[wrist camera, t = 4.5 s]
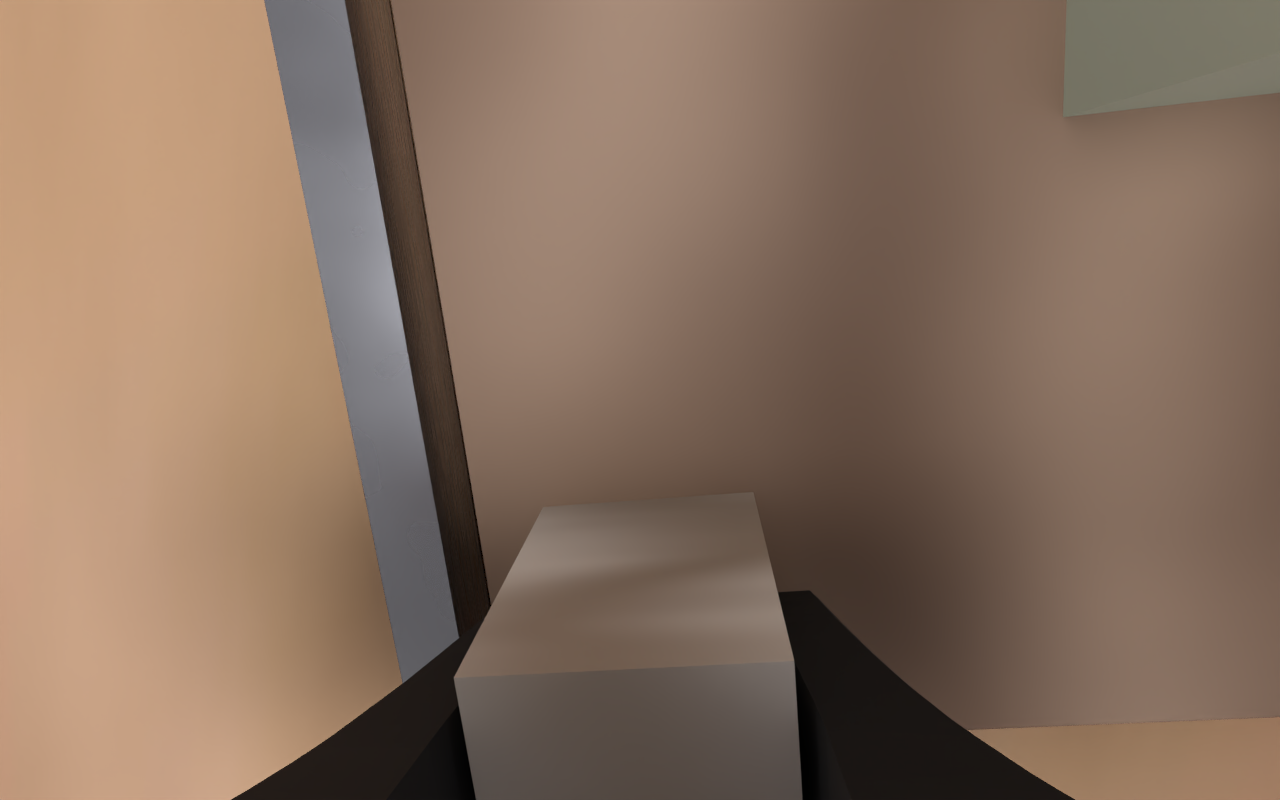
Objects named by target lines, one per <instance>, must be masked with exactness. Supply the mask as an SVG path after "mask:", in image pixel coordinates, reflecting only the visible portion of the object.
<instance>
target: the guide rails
mask: <svg viewBox="0 0 1280 800" xmlns="http://www.w3.org/2000/svg"><path fill="white" fill-rule="evenodd" d="M264 1H265V6H266V11H267V16H268V21H269V26H270V30H271V35H272V40H273V45H274V50H275V55H276V60H277V65H278V70H279V75H280V80H281V85H282V90H283V95H284V100H285V105H286V109H287V114H288V119H289V124H290V129H291V134H292V139H293V144H294V149H295V154H296V159H297V164H298V169H299V174H300V179H301V184H302V188H303V193H304V198H305V203H306V208H307V213H308V218H309V223H310V228H311V233H312V238H313V243H314V248H315V253H316V258H317V263H318V267H319V272H320V277H321V282H322V287H323V292H324V297H325V302H326V307H327V312H328V317H329V322H330V327H331V332H332V337H333V342H334V346H335V351H336V356H337V361H338V366H339V371H340V376H341V381H342V386H343V391H344V396H345V401H346V406H347V411H348V416H349V421H350V425H351V430H352V435H353V440H354V445H355V450H356V455H357V460H358V465H359V470H360V475H361V480H362V485H363V490H364V495H365V500H366V504H367V509H368V514H369V519H370V524H371V529H372V534H373V539H374V544H375V549H376V554H377V559H378V564H379V569H380V574H381V579H382V583H383V588H384V593H385V598H386V603H387V608H388V613H389V618H390V623H391V628H392V633H393V638H394V643H395V648H396V653H397V658H398V662H399V667H400V672H401V677H402V682H403V683H404V682H405V681H406V680H408V679H409V678H410V677H411V676H413V675H414V674H415V673H416V672H418V671H419V670H420V669H421V668H423V667H424V666H425V665H426V664H428V663H429V662H430V661H431V660H433V659H434V658H435V657H436V656H438V655H439V654H440V653H441V652H442V651H444V650H445V649H446V648H447V647H449V646H450V645H451V644H452V643H453V642H455V641H456V640H457V639H458V638H460V637H461V636H462V635H463V634H464V633H466V632H467V631H468V630H469V629H471V628H472V627H473V626H474V625H476V624H477V623H478V622H479V621H481V620H482V619H483V618H485V617H486V615H487V613H488V612H489V610H490V605H489V599H488V593H487V587H486V581H485V575H484V569H483V563H482V557H481V551H480V545H479V539H478V533H477V527H476V521H475V515H474V509H473V503H472V497H471V491H470V485H469V479H468V473H467V467H466V461H465V455H464V449H463V443H462V437H461V431H460V425H459V419H458V413H457V407H456V401H455V395H454V389H453V383H452V377H451V371H450V365H449V359H448V353H447V347H446V341H445V335H444V329H443V322H442V316H441V310H440V304H439V298H438V292H437V286H436V280H435V274H434V268H433V262H432V256H431V250H430V244H429V238H428V232H427V226H426V220H425V214H424V208H423V202H422V196H421V190H420V184H419V178H418V172H417V166H416V160H415V154H414V148H413V142H412V136H411V130H410V124H409V118H408V112H407V106H406V100H405V94H404V88H403V82H402V76H401V70H400V64H399V58H398V52H397V46H396V40H395V34H394V27H393V21H392V15H391V9H390V3H389V0H264Z"/></svg>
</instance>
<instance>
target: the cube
mask: <svg viewBox="0 0 1280 800" xmlns="http://www.w3.org/2000/svg"><path fill="white" fill-rule="evenodd" d="M1272 93H1280V0H1067V7H1066V38H1065V69H1064V100H1063V117H1069V116H1078V115H1087V114H1096V113H1104V112H1113V111H1122V110H1131V109H1140V108H1148V107H1157V106H1166V105H1175V104H1184V103H1192V102H1201V101H1210V100H1219V99H1228V98H1236V97H1245V96H1254V95H1263V94H1272Z"/></svg>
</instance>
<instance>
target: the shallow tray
mask: <svg viewBox="0 0 1280 800" xmlns="http://www.w3.org/2000/svg"><path fill="white" fill-rule="evenodd" d="M391 3H392V9H393V15H394V21H395V27H396V33H397V39H398V45H399V51H400V58H401V64H402V70H403V76H404V82H405V88H406V94H407V100H408V106H409V112H410V118H411V124H412V130H413V136H414V142H415V148H416V154H417V160H418V166H419V172H420V178H421V184H422V190H423V196H424V203H425V209H426V215H427V221H428V227H429V233H430V239H431V245H432V251H433V257H434V263H435V269H436V275H437V281H438V287H439V293H440V299H441V305H442V311H443V317H444V323H445V329H446V335H447V342H448V348H449V354H450V360H451V366H452V372H453V378H454V384H455V390H456V396H457V402H458V408H459V414H460V420H461V426H462V432H463V438H464V444H465V450H466V456H467V462H468V468H469V474H470V480H471V487H472V493H473V499H474V505H475V511H476V517H477V523H478V529H479V535H480V541H481V547H482V553H483V559H484V565H485V571H486V577H487V583H488V589H489V595H490V601H491V608H490V610H489V612H488V613H487V615H486V617H485V619H484V621H483V623H482V625H481V627H480V629H479V631H478V633H477V634H476V636H475V638H474V640H473V642H472V644H471V646H470V648H469V650H468V652H467V653H466V655H465V657H464V659H463V661H462V663H461V665H460V667H459V669H458V671H457V673H456V674H455V676H454V682H455V688H456V693H457V699H458V704H459V710H460V715H461V721H462V726H463V731H464V737H465V742H466V748H467V753H468V759H469V764H470V770H471V775H472V781H473V786H474V791H475V797H476V800H802V783H801V766H800V749H799V732H798V715H797V698H796V681H795V664H794V658H793V653H792V649H791V645H790V641H789V637H788V633H787V629H786V625H785V620H784V616H783V612H782V608H781V604H780V600H779V596H778V592H788V591H806V590H810V591H811V592H812V593H813V594H814V595H815V596H816V597H818V598H819V599H820V600H821V601H822V603H823V604H824V605H825V606H826V607H827V608H828V609H829V610H830V611H831V612H832V613H833V614H834V615H835V616H836V617H837V618H838V619H839V620H840V621H841V622H842V623H843V624H844V625H845V626H846V627H847V628H848V629H849V630H850V631H851V632H852V633H853V634H854V635H855V636H856V637H857V638H858V639H859V640H860V641H861V642H862V643H863V644H864V645H865V646H866V647H867V648H868V649H869V650H870V651H871V652H872V653H873V654H875V655H876V656H877V657H878V658H879V659H880V660H881V661H882V662H883V663H884V664H886V665H887V666H888V667H889V668H890V669H891V670H892V671H893V672H894V673H896V674H897V675H898V676H899V677H900V678H901V679H902V680H903V681H905V682H906V683H907V684H908V685H909V686H910V687H912V688H913V689H914V690H915V691H916V692H918V693H919V694H920V695H921V696H923V697H924V698H925V699H926V700H928V701H929V702H930V703H932V704H933V705H934V706H935V707H937V708H938V709H939V710H940V711H942V712H943V713H944V714H945V715H947V716H948V717H949V718H951V719H952V720H953V721H955V722H956V723H957V724H959V725H960V726H962V727H963V728H964V729H966V730H973V729H998V728H1023V727H1048V726H1072V725H1097V724H1122V723H1146V722H1171V721H1196V720H1220V719H1245V718H1270V717H1280V93H1272V94H1263V95H1254V96H1245V97H1236V98H1228V99H1219V100H1210V101H1201V102H1192V103H1184V104H1175V105H1166V106H1157V107H1148V108H1140V109H1131V110H1122V111H1113V112H1104V113H1096V114H1087V115H1078V116H1069V117H1063V100H1064V69H1065V38H1066V7H1067V0H391Z"/></svg>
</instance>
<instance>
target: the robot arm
mask: <svg viewBox="0 0 1280 800" xmlns="http://www.w3.org/2000/svg"><path fill="white" fill-rule="evenodd" d="M778 596H779V600H780V604H781V608H782V612H783V616H784V620H785V625H786V629H787V633H788V637H789V641H790V645H791V649H792V653H793V658H794V664H795V681H796V698H797V715H798V732H799V749H800V766H801V783H802V800H1075V799H1073V798H1071V797H1070V796H1068V795H1066V794H1064V793H1063V792H1061V791H1059V790H1058V789H1056V788H1054V787H1053V786H1051V785H1049V784H1048V783H1046V782H1044V781H1043V780H1041V779H1039V778H1038V777H1036V776H1035V775H1033V774H1031V773H1030V772H1028V771H1027V770H1025V769H1024V768H1022V767H1021V766H1019V765H1018V764H1016V763H1015V762H1013V761H1012V760H1010V759H1009V758H1007V757H1006V756H1004V755H1003V754H1001V753H1000V752H998V751H997V750H995V749H994V748H992V747H991V746H989V745H988V744H986V743H984V742H983V741H981V740H980V739H978V738H977V737H975V736H974V735H973V734H971V733H970V732H969V731H967V730H966V729H964V728H963V727H962V726H960V725H959V724H957V723H956V722H955V721H953V720H952V719H951V718H949V717H948V716H947V715H945V714H944V713H943V712H942V711H940V710H939V709H938V708H937V707H935V706H934V705H933V704H932V703H930V702H929V701H928V700H926V699H925V698H924V697H923V696H921V695H920V694H919V693H918V692H916V691H915V690H914V689H913V688H912V687H910V686H909V685H908V684H907V683H906V682H905V681H903V680H902V679H901V678H900V677H899V676H898V675H897V674H896V673H894V672H893V671H892V670H891V669H890V668H889V667H888V666H887V665H886V664H884V663H883V662H882V661H881V660H880V659H879V658H878V657H877V656H876V655H875V654H873V653H872V652H871V651H870V650H869V649H868V648H867V647H866V646H865V645H864V644H863V643H862V642H861V641H860V640H859V639H858V638H857V637H856V636H855V635H854V634H853V633H852V632H851V631H850V630H849V629H848V628H847V627H846V626H845V625H844V624H843V623H842V622H841V621H840V620H839V619H838V618H837V617H836V616H835V615H834V614H833V613H832V612H831V611H830V610H829V609H828V608H827V607H826V606H825V605H824V604H823V603H822V601H821V600H820V599H819V598H818V597H816V596H815V595H814V594H813V593H812V592H811V591H810V590H806V591H788V592H778ZM484 619H485V618H483V619H482V620H481V621H479V622H478V623H477V624H476V625H474V626H473V627H472V628H471V629H469V630H468V631H467V632H466V633H464V634H463V635H462V636H461V637H460V638H458V639H457V640H456V641H455V642H453V643H452V644H451V645H450V646H449V647H447V648H446V649H445V650H444V651H442V652H441V653H440V654H439V655H438V656H436V657H435V658H434V659H433V660H431V661H430V662H429V663H428V664H426V665H425V666H424V667H423V668H421V669H420V670H419V671H418V672H416V673H415V674H414V675H413V676H411V677H410V678H409V679H408V680H406V681H405V682H404V683H403V684H401V685H400V686H399V687H398V688H396V689H395V690H394V691H392V692H391V693H390V694H388V695H387V696H385V697H384V698H383V699H381V700H380V701H379V702H377V703H376V704H375V705H373V706H372V707H371V708H369V709H368V710H367V711H365V712H364V713H362V714H361V715H360V716H358V717H357V718H356V719H354V720H353V721H352V722H350V723H349V724H348V725H346V726H345V727H344V728H342V729H341V730H339V731H338V732H337V733H335V734H334V735H333V736H331V737H330V738H328V739H327V740H325V741H324V742H322V743H321V744H319V745H318V746H317V747H315V748H314V749H312V750H310V751H309V752H307V753H306V754H304V755H303V756H301V757H300V758H298V759H297V760H295V761H294V762H292V763H291V764H289V765H287V766H286V767H284V768H283V769H281V770H279V771H278V772H276V773H274V774H273V775H271V776H270V777H268V778H266V779H265V780H263V781H262V782H260V783H258V784H257V785H255V786H253V787H252V788H250V789H249V790H247V791H245V792H244V793H242V794H240V795H238V796H237V797H235V798H233V799H232V800H476V797H475V791H474V786H473V781H472V775H471V770H470V764H469V759H468V753H467V748H466V742H465V737H464V731H463V726H462V721H461V715H460V710H459V704H458V699H457V693H456V688H455V682H454V676H455V674H456V673H457V671H458V669H459V667H460V665H461V663H462V661H463V659H464V657H465V655H466V653H467V652H468V650H469V648H470V646H471V644H472V642H473V640H474V638H475V636H476V634H477V633H478V631H479V629H480V627H481V625H482V623H483V621H484Z"/></svg>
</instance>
